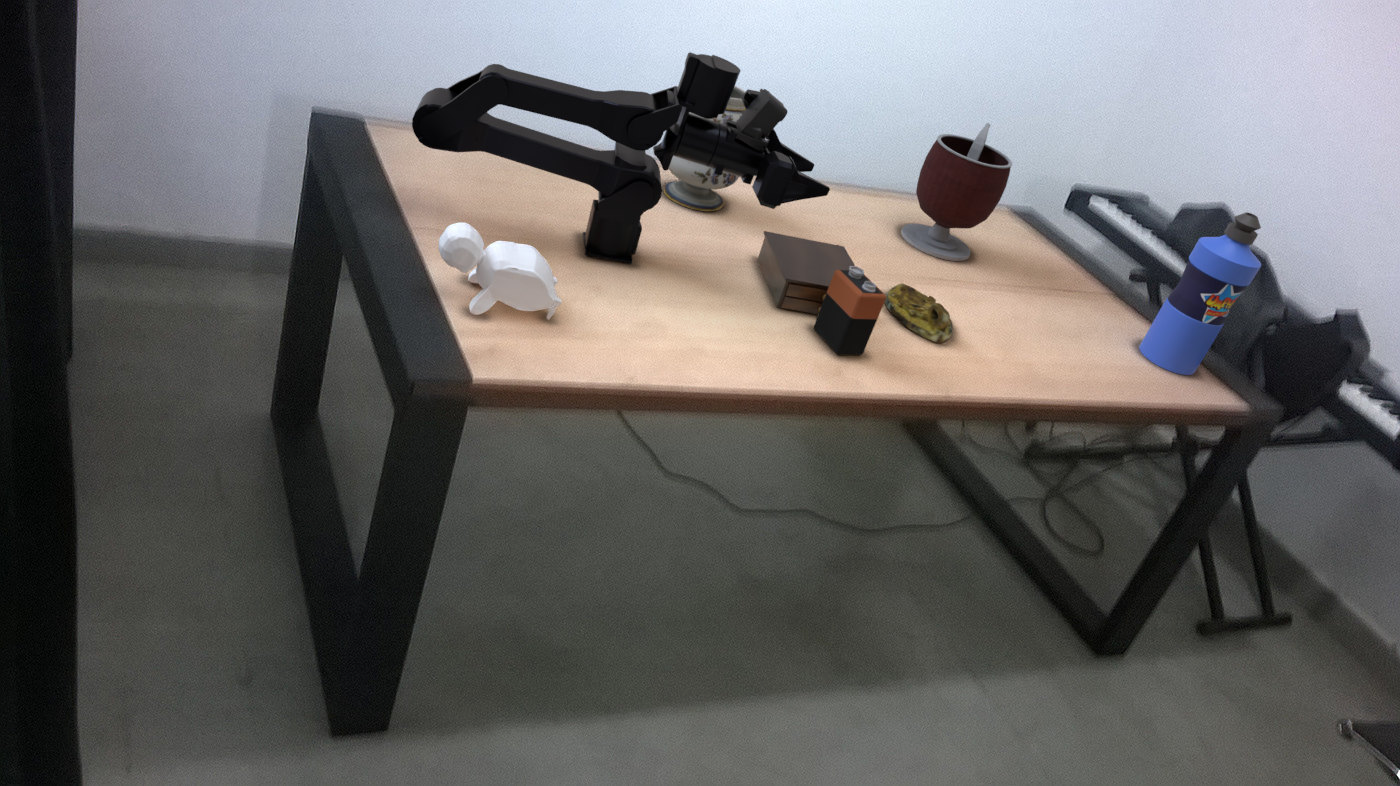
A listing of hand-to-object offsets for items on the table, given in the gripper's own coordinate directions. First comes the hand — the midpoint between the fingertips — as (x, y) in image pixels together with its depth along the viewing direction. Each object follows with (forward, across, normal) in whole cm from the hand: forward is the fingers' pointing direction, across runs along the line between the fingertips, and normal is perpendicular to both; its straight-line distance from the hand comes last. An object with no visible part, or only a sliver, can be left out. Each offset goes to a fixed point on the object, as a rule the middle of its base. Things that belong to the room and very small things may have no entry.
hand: (820, 179), depth 142 cm
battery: (+6, -13, +17) cm, 22 cm away
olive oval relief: (+22, 0, +15) cm, 27 cm away
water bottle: (+66, +2, +11) cm, 67 cm away
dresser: (+5, +1, +16) cm, 17 cm away
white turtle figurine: (-38, -18, +21) cm, 47 cm away
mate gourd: (+35, +30, +12) cm, 48 cm away
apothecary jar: (-9, +27, +16) cm, 32 cm away
